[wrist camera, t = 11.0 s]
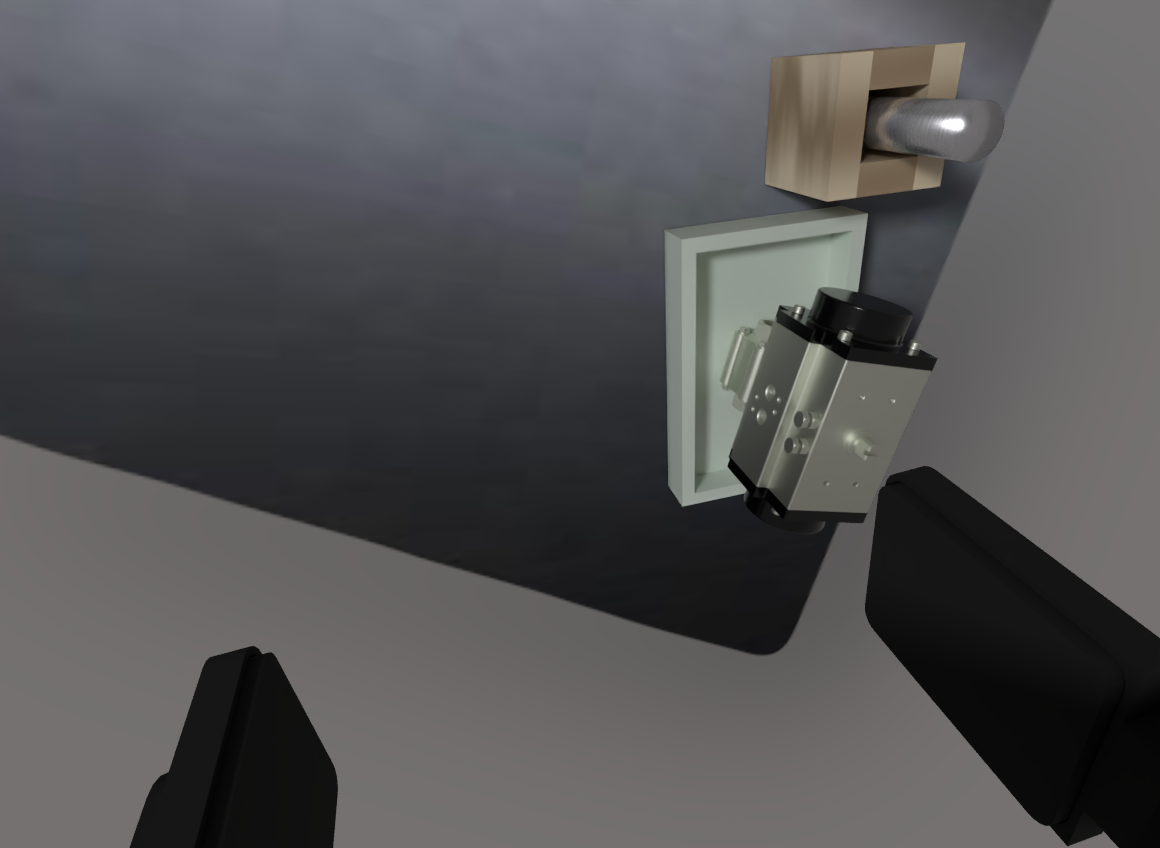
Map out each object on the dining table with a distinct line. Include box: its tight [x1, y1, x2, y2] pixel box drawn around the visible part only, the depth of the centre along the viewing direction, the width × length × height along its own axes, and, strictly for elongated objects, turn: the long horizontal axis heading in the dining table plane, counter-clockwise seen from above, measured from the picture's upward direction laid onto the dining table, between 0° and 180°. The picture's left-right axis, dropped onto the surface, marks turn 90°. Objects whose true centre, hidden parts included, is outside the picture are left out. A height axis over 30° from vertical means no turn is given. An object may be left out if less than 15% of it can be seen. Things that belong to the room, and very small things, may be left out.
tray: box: [664, 206, 868, 507], centre depth 39 cm, size 17×11×2 cm, turn 5°
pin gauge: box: [862, 96, 1004, 162], centre depth 30 cm, size 2×2×11 cm
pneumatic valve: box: [720, 287, 937, 534], centre depth 34 cm, size 6×12×12 cm, turn 168°
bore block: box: [765, 42, 965, 202], centre depth 32 cm, size 6×6×6 cm
